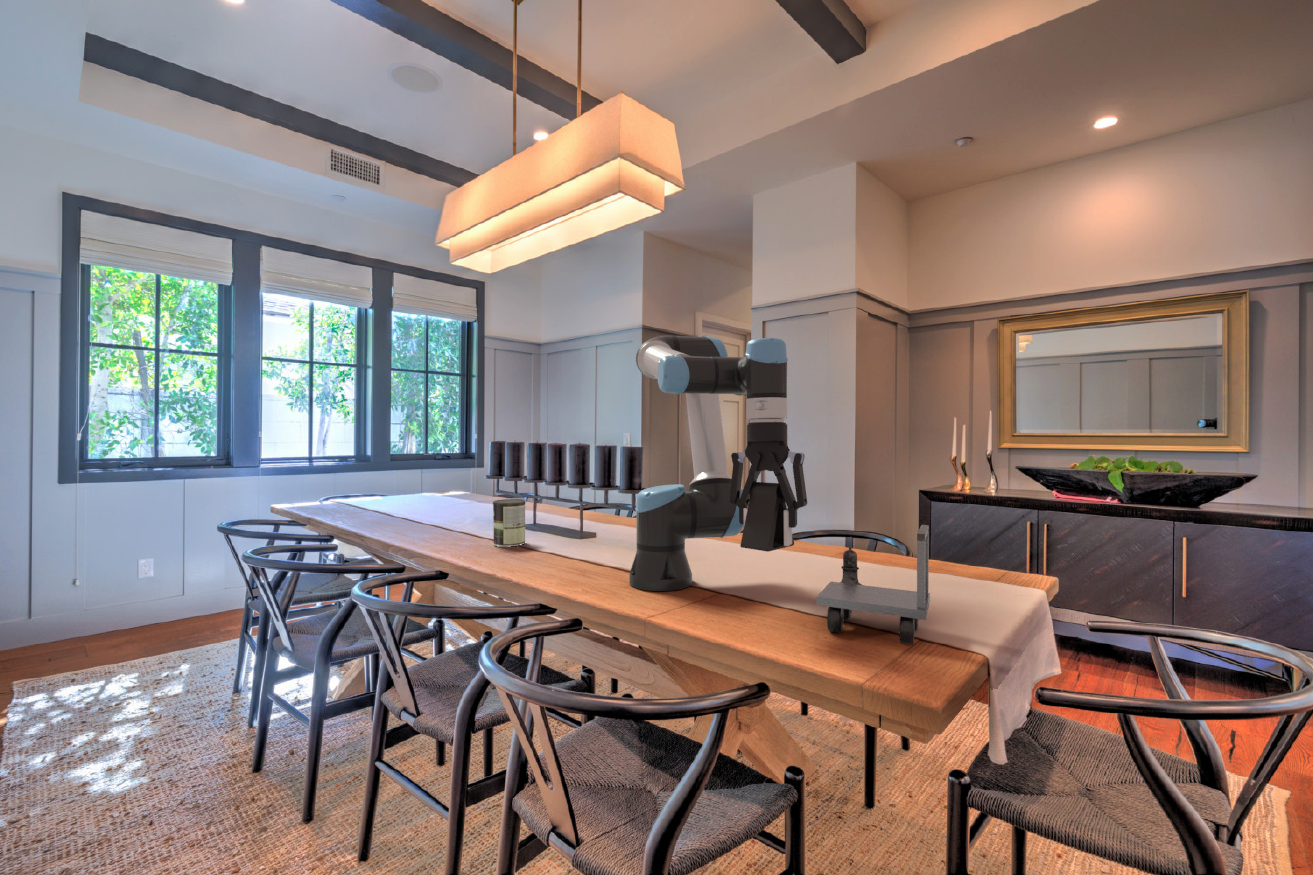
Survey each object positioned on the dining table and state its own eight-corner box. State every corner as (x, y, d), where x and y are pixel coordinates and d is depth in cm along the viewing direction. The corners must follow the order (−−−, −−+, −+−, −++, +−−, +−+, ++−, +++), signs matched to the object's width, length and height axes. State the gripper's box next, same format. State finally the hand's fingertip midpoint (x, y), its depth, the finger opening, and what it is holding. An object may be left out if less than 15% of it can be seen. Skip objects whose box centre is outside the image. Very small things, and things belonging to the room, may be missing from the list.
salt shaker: (829, 600, 126) (829, 544, 126) (851, 596, 128) (851, 542, 128) (848, 607, 121) (848, 549, 120) (870, 604, 123) (870, 547, 123)
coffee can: (487, 547, 185) (487, 502, 185) (500, 540, 195) (500, 498, 195) (518, 547, 183) (518, 503, 183) (530, 541, 194) (530, 499, 193)
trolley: (816, 633, 106) (816, 527, 105) (831, 613, 117) (831, 517, 117) (925, 650, 97) (925, 535, 97) (930, 627, 109) (930, 524, 108)
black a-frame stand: (766, 551, 105) (766, 485, 105) (740, 547, 109) (739, 483, 109) (794, 545, 111) (794, 482, 111) (768, 541, 115) (767, 480, 115)
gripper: (710, 422, 112) (710, 542, 111) (815, 419, 102) (816, 551, 102) (725, 422, 118) (725, 536, 118) (825, 420, 108) (826, 544, 108)
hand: (767, 543), depth 110 cm, fingers closed on black a-frame stand, 7 cm apart
